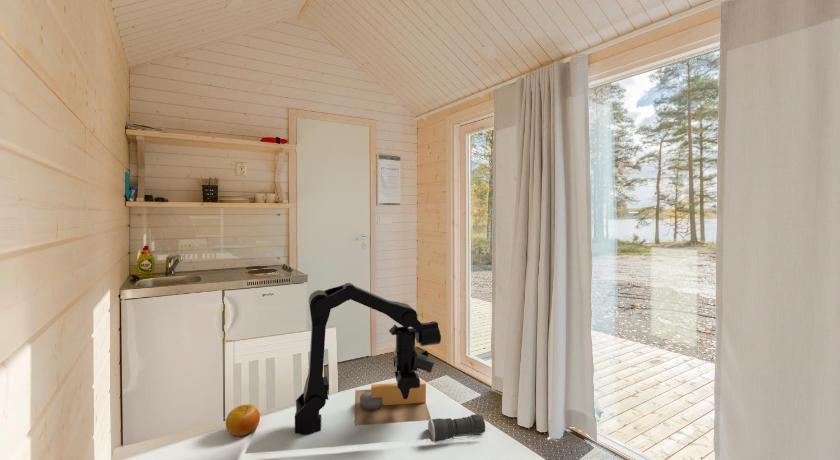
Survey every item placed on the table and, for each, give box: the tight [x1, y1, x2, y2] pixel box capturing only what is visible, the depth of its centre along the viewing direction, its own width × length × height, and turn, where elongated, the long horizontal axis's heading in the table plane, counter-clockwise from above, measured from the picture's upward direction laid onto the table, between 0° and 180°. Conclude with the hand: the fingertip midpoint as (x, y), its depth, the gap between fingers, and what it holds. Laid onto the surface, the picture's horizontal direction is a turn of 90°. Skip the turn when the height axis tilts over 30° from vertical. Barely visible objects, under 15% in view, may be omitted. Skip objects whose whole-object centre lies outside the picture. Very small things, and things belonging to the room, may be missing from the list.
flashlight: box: [427, 413, 486, 443], centre depth 112 cm, size 15×5×5 cm, turn 104°
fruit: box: [225, 404, 261, 437], centre depth 113 cm, size 9×9×8 cm
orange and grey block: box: [360, 380, 427, 410], centre depth 126 cm, size 20×7×6 cm, turn 98°
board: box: [354, 388, 432, 426], centre depth 126 cm, size 22×22×2 cm
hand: (405, 398), depth 121 cm, fingers closed
